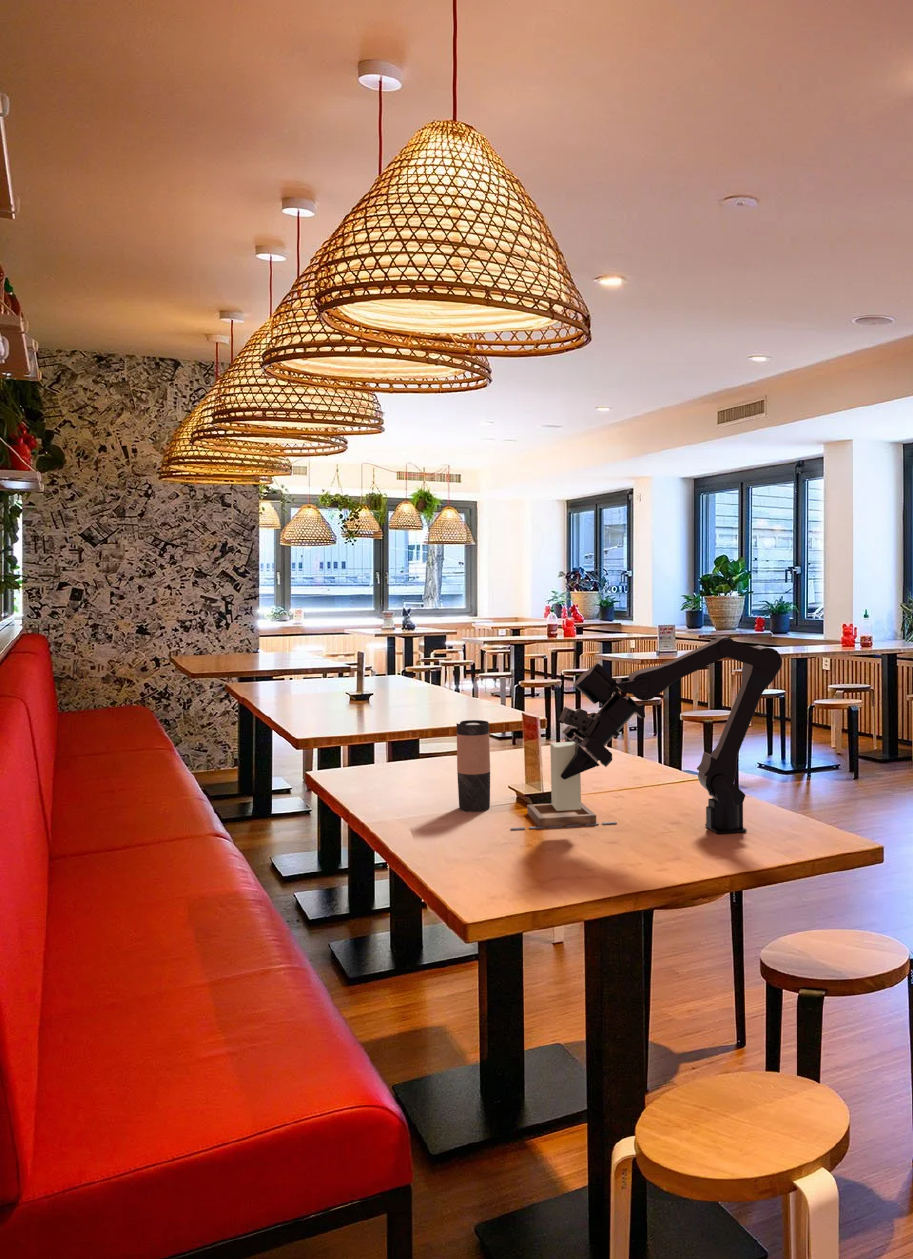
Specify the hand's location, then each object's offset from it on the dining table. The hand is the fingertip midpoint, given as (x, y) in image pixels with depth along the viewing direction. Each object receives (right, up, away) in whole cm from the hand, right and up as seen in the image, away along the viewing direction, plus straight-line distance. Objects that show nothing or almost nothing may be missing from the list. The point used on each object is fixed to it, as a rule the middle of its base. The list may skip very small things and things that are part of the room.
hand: (559, 775), depth 193 cm
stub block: (+2, -7, +1) cm, 7 cm away
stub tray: (+2, -12, +14) cm, 18 cm away
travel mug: (-17, -12, +25) cm, 33 cm away
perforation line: (+2, -12, +7) cm, 14 cm away
